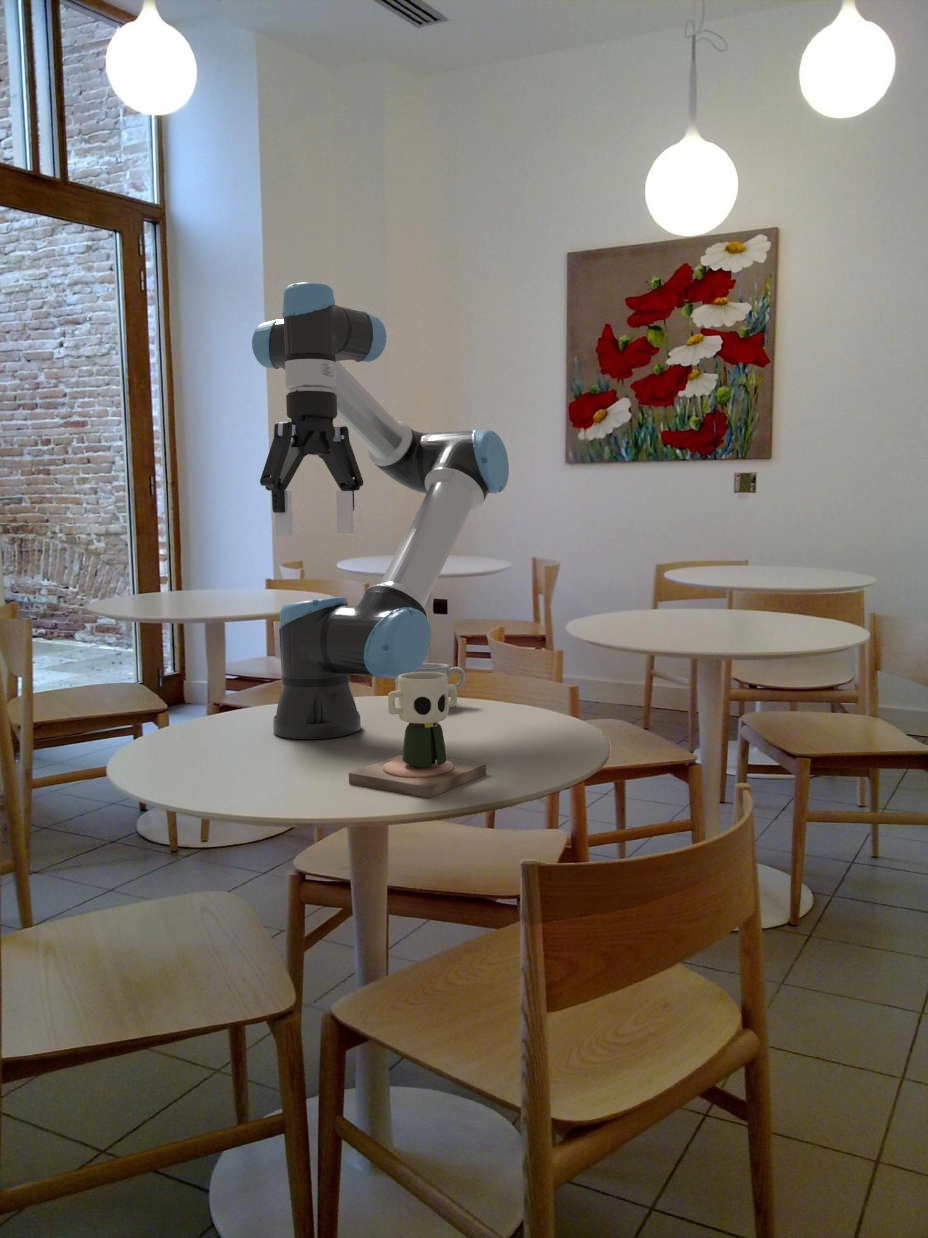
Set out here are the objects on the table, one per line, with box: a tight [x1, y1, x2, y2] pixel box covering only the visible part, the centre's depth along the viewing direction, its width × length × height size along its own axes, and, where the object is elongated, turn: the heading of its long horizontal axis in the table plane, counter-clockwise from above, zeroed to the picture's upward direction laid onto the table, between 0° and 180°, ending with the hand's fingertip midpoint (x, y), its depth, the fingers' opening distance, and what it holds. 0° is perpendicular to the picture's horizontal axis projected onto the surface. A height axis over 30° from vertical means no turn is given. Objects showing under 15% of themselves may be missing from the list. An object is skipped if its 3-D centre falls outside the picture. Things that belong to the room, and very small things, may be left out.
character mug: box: [387, 672, 458, 767], centre depth 143 cm, size 11×7×13 cm, turn 120°
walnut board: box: [348, 753, 487, 799], centre depth 143 cm, size 14×14×2 cm
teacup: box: [394, 662, 467, 697], centre depth 196 cm, size 14×11×8 cm
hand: (316, 534), depth 152 cm, fingers open, 13 cm apart
